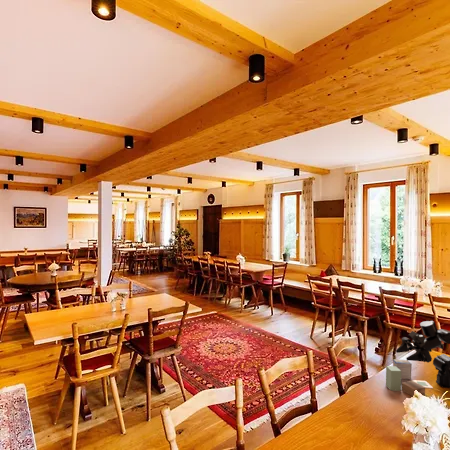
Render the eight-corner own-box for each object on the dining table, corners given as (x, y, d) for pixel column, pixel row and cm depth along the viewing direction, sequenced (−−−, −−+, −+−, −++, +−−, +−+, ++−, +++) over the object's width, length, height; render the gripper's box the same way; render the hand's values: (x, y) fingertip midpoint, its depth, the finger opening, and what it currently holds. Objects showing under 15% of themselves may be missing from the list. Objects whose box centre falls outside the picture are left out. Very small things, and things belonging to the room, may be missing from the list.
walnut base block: (411, 388, 159) (412, 380, 159) (424, 395, 153) (424, 387, 153) (401, 390, 157) (401, 382, 157) (414, 398, 150) (414, 389, 150)
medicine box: (407, 375, 172) (407, 359, 172) (411, 379, 168) (411, 363, 168) (392, 374, 173) (392, 359, 173) (396, 378, 169) (396, 362, 169)
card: (425, 381, 166) (425, 380, 166) (433, 388, 159) (433, 387, 159) (411, 380, 167) (411, 379, 167) (418, 387, 160) (418, 386, 160)
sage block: (395, 385, 161) (395, 366, 161) (400, 390, 156) (401, 370, 156) (385, 385, 161) (386, 366, 161) (390, 390, 156) (391, 370, 156)
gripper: (411, 323, 172) (385, 334, 171) (435, 335, 153) (406, 348, 153) (419, 342, 172) (393, 353, 171) (443, 356, 153) (414, 369, 153)
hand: (401, 355), depth 162 cm, fingers open, 9 cm apart
